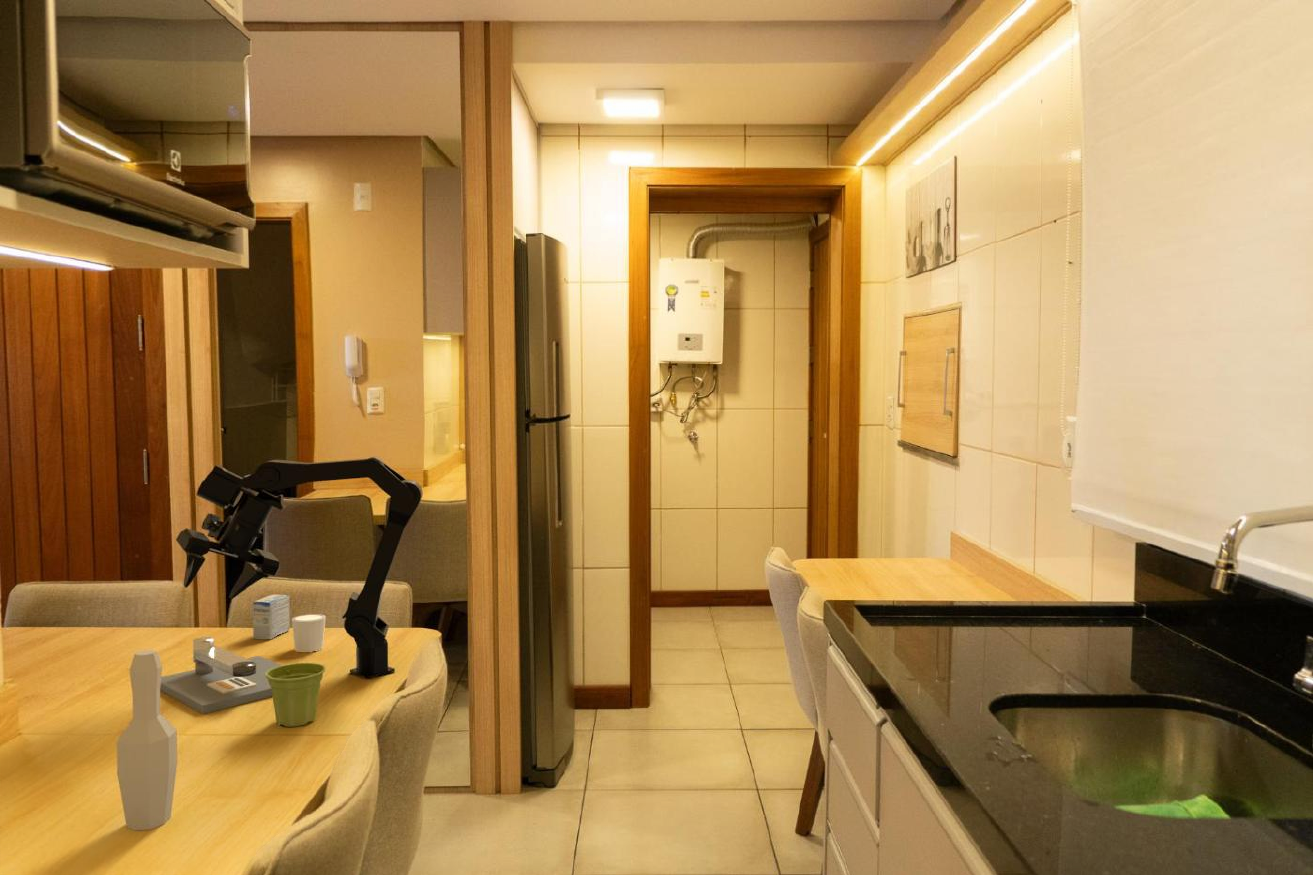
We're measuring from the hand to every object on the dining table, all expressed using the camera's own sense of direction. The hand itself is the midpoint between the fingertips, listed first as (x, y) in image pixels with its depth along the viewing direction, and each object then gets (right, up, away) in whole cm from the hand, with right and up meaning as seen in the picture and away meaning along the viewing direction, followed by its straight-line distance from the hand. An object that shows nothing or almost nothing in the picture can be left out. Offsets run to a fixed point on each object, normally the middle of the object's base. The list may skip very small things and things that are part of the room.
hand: (208, 592), depth 168 cm
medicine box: (-3, -16, +34) cm, 38 cm away
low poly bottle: (+21, -20, -55) cm, 62 cm away
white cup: (+10, -17, +23) cm, 30 cm away
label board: (+6, -17, -2) cm, 18 cm away
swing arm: (+5, -14, -4) cm, 15 cm away
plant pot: (+25, -19, -19) cm, 37 cm away
